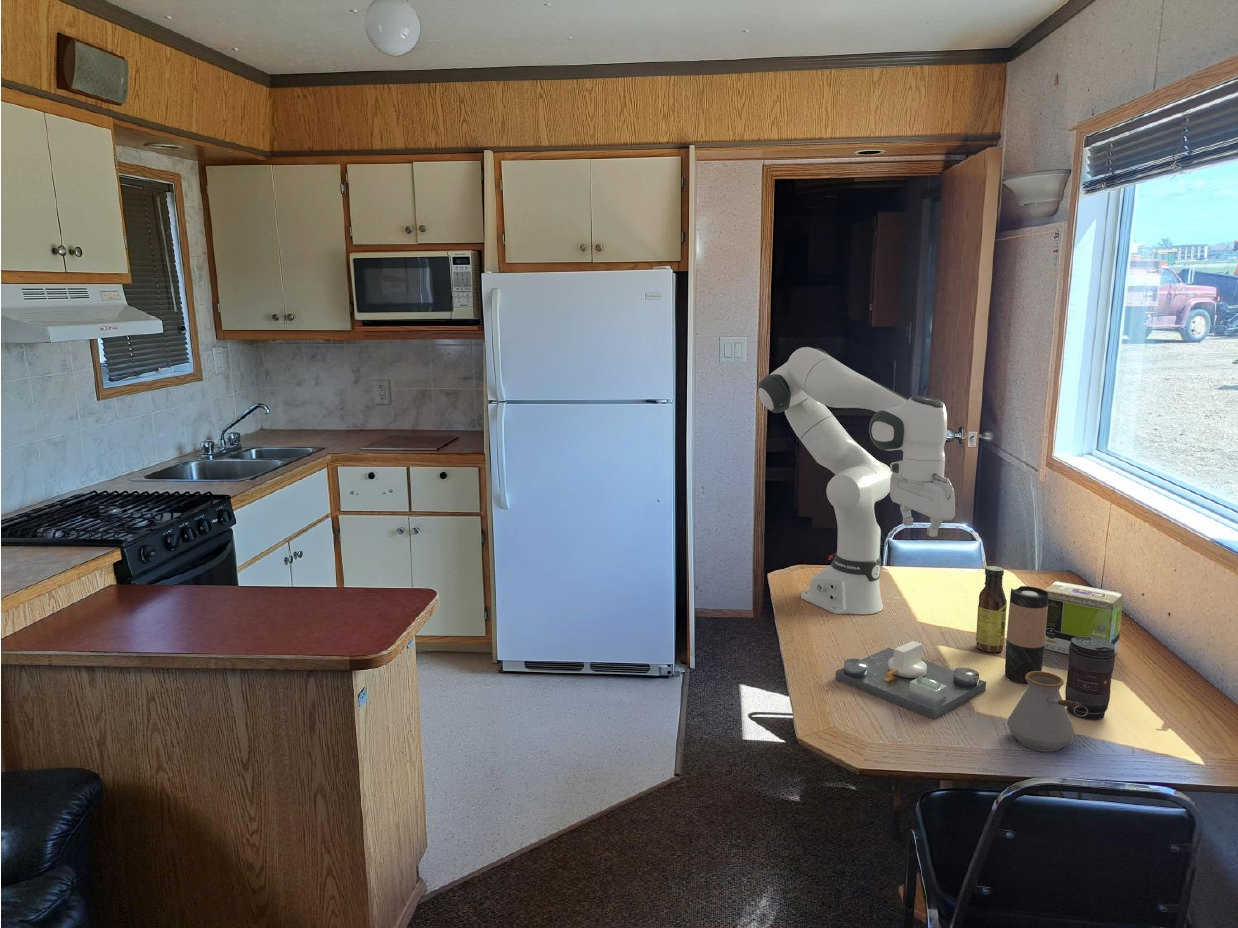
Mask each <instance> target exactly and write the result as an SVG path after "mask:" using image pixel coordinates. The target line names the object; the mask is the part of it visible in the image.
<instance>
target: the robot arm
mask: <svg viewBox="0 0 1238 928" xmlns="http://www.w3.org/2000/svg"><path fill="white" fill-rule="evenodd" d="M756 391H757V395H758V398H759V400H760V402H761V403H762V405H763V406H764V408H766V410H768V411H769V412H772V413H774V414H778V413H779V414H780V413H782V412H784V415H785V416H786V419H787V421H788V423H789V425H790V427H791V428H792V430H793V431H794V433H795V435H796V436H797V437H798V438H799V440H800V441H801V443H802V444H803V446H804V447H805V448H806V450H807V451H808V452H809V454H810V455H811V456H812V458H813V459H814V460H815V462H816V463H817V464H819V465H821V466H822V467H825V468H827V469H828V470H829V471H831V472H832V473H833V474H834V476H833V477H832V478H831V479H830V480H829V481H828V482H827V486H826V490H825V491H826V498H827V499H828V501H829V503H830V504H831V505H832V506H833V509H834V512H835V513H834V514H835V518H836V523H837V548H836V549H837V550H836V552H835V553H833V554H830V555H828V556H827V557H828V561H830V560H832V562H831V564H830V565H828V566H827V567H825V568H823V569H822V570H821V571H819V572H818V573H815V574H814V576H812V578H811V581H810V584H809V588H808V589H806V590H804V591H802V592H801V594H800V598H801V599H802V600H803V601H807V602H808V603H811V604H813V605H815V606H818V607H820V608H821V609H825V610H826V611H827V612H830V613H832V614H837V615H843V614H848V615H849V614H851V615H872V614H877V613H879V612H881V611H882V610H884V604H883V600H882V595H881V588H880V586H881V585H880V577H881V571H882V570H881V569H882V568H881V567H882V556H881V554H880V553H881V536H882V535H881V533H882V531H881V527H880V526H879V524H878V522H877V519H876V518H877V517H876V513H875V504H876V502H879V501H881V500H883V499H884V498H886V496H887V495H888V494H889V497H890V499H891V501H892V502H893V503H894V504H898V505H900V507H899V508H900V512H901V515H902V525H904V526H907V527H911V526H912V527H913V525H914V517H912V512H911V510H913V511H915V512H917V513H920V514H922V515H925V516H928V517H929V522H931V523H930V525H929V526H928V527H927V528H926V535H927V536H929V537H931V538H935V537H937V536H938V533H939V528H940V527H941V525H942V524H943V522H944V521H952V520H953V519H954V518H955V516H956V497H955V489H954V487H953V484H952V483H951V482H950V479H949V478H948V477H945V469H946V467H945V465H946V453H945V443H946V441H947V434H948V413H947V409H946V405H945V403H944V402H943V401H942V400H940V399H939V398H937V397H936V398H935V397H931V396H925V395H914V396H911V397H910V398H907V397H905V396H903V395H902V394H899V393H897V392H895V391H893V389H890V388H889V387H887V386H884V385H883V384H881V383H878V382H876V381H874V380H872V379H870V378H868V377H867V376H865V375H863V374H860V373H858V372H856V371H855V370H853V369H851V368H850V367H848V366H846V365H845V364H843V363H841V361H838V360H837V359H836V358H834V357H832V356H831V355H830V354H829V353H828V352H827V351H825V350H824V349H821V348H820V347H819V348H818V347H816V348H813V347H810V346H804V347H803V346H802V347H799V348H797V349H796V350H795V351H794V352H792V354H791V355H790V356H789V358H788V360H787V361H786V362H784V364H782V365H781V366H779V367H778V368H776V369H775V370H773V371H772V372H771V373H770V374H766V375H765V376H764V377H763V378H762V379H761V380H760V381H759V382H758V384H757V390H756ZM828 407H830V408H838V409H843V408H844V409H846V408H847V409H848V408H849V409H850V408H851V409H854V408H855V409H865V410H869V411H873V412H875V413H874V414H873V416H872V417H871V419H870V422H869V425H868V433H869V437H870V440H871V442H872V443H873V445H874V446H875V447H877V448H878V449H879V450H884V451H897V450H901V451H902V453H903V454H902V460H898V461H894V462H891V463H890V465H889V466H888V464H885V463H883V462H882V461H879V460H877V459H876V458H875V457H873V455H871V453H869V452H868V451H867V450H866V449H865V448H863V447H862V446H861V445H860V444H858V443H857V441H856V440H854V438H853V437H851V435H850V434H849V433H848V431H846V429H845V428H844V427H843V425H841V424H840V422H839V420H838V419H837V418H836V417H835V415H833V414H834V413H832V412H831V411H830V409H828Z"/></svg>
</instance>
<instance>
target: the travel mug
mask: <svg viewBox="0 0 1238 928" xmlns="http://www.w3.org/2000/svg"><path fill="white" fill-rule="evenodd" d="M1048 598H1049V594H1048V592H1046V591H1045V589H1042V588H1041V587H1035V586H1028V585H1021V586H1019V587H1018V588H1011V589H1010V595H1009V606H1008V618H1007V628H1006V637H1005V638H1006V639H1005V643H1006V644H1005V660H1004V661H1005V662H1004V665H1005V666H1004V676H1006V677H1005V678H1006V679H1007V680H1008V681H1010V682H1013V683H1016V684H1020V685H1027V686H1029V685H1028V683H1027V681H1026V680H1025V676H1026V674H1027V673H1029V672H1032V671H1042V670H1043V663H1044V662H1043V661H1044V653H1045V649H1044V647H1045V636H1046V623H1047V610H1048Z"/></svg>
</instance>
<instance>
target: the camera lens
mask: <svg viewBox="0 0 1238 928" xmlns="http://www.w3.org/2000/svg"><path fill="white" fill-rule="evenodd" d="M1067 655H1068V656H1067V657H1068V658H1067V665H1068V666H1067V675H1066V682H1065V692H1064V694H1065V696H1064V697H1065V699H1064V700H1071V701H1073V702H1074V701H1076V702H1078V703H1080V704H1082V705H1083V706H1084V707H1082V708H1077V709H1075V713H1076V714H1077V715H1079V716H1077V715H1076V714H1075V713H1074V708H1073V707H1071V708H1069V707H1066V711H1067V713H1069V714H1070V715H1072V716H1074V717H1076V718H1079V719H1083V720H1086V721H1087V720H1088V721H1097V720H1098V721H1099V720H1102V719H1103V718H1105V714H1106V712H1107V710H1108V709H1109V704H1110V699H1111V685H1112V677H1113V673H1114V669H1115V668H1114V667H1115V658H1116V654H1115V646H1114V645H1113V644H1112V643H1110V642H1108V641H1106V640H1103V639H1099V638H1095V637H1086V636H1080V637H1074V638H1072V640H1071V643H1070V646H1069V654H1067ZM1085 707H1086V708H1087V710H1088V713H1087V710H1086V708H1085ZM1086 713H1087V715H1085V714H1086ZM1083 715H1085V716H1083ZM1081 716H1082V717H1081Z"/></svg>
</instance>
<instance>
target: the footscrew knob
mask: <svg viewBox="0 0 1238 928" xmlns="http://www.w3.org/2000/svg"><path fill="white" fill-rule="evenodd" d="M893 649H894V657H893V658H891V659H889V661H888V670H889V672H887V676H892V675H894V674H895V675H898V676H901V677H906V678H918V677H919V676H924V675H925V674H926V669H927V665H926V663H925V662H923V661H922V660H923V659H922V658H923V657H922V656H923V643H920V642H917V641H915V640H912V641H909V642H908V643H905V644H902V645H900V646H898V647H895V648H893Z"/></svg>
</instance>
